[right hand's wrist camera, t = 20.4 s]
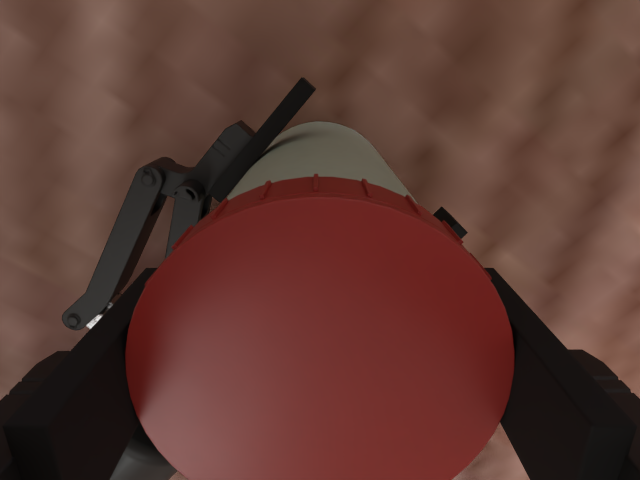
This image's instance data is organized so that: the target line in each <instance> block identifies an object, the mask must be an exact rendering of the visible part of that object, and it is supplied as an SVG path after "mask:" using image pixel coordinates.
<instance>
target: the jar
mask: <svg viewBox="0 0 640 480" xmlns="http://www.w3.org/2000/svg"><path fill="white" fill-rule="evenodd" d="M314 174H318V177H339V178H346V179H354V180H359V181H362V178H363V179H366V180H367V182H368V183H370V184H374V185H378V186H381V187H384V188H386V189H388V190H391V191H393V192H396V193H398V194H401V195H403V196H404V197H405V196H406V195H409V196H410V197H411V198H412V199H413V200H414V202H415V203H416V204H418V203H417V202H416V201H415V199H414V198H413V197H412V195H411V194H410V193H409V192H408V190H407V189H406V188H405V186H404V185H403V184H402V183H401V181H400V180H399V179H398V177H397V176H396V175H395V174H394V172H393V171H392V170H391V168H390V167H389V166H388V165H387V163H386V162H385V161H384V159H383V158H382V157H381V156H380V154H379V153H378V152H377V151H376V149H375V148H374V147H373V146H372V145H371V143H370V142H369V141H368V140H367V139H365V138H364V137H363V136H362V135H360V134H359V133H357V132H356V131H354V130H352V129H350V128H348V127H346V126H343V125H340V124H337V123H331V122H320V121H318V122H308V123H304V124H300V125H297V126H294V127H292V128H290V129H288V130H286V131H284V132H282V133H281V134H280V135H278V136H277V137H276V138H275V139H274V140H273V141H272V143H271V144H270V145H269V146H268V147H267V149H266V150H265V151H264V152H263V153H262V155H261V156H260V157H259V158H258V159H257V161H256V162H255V163H254V164H253V165H252V167H251V168H250V169H249V170H248V171H247V172H246V174H245V175H244V176H243V178H242V179H241V180H240V181H239V183H238V184H237V185H236V187H235V188H234V189H233V190H232V192H231V193H230V194H229V196H228V197H227V199H228V200H230V199H232V198H234V197H235V196H237V195H239V194H242V193H244V192H247V191H249V190H251V189H254V188H256V187H259V186H262V185H265V183H266V181H269V180H271V183H273V182H277V181H281V180H286V179H294V178H301V177H314ZM418 205H419V204H418Z"/></svg>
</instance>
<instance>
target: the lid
mask: <svg viewBox="0 0 640 480" xmlns="http://www.w3.org/2000/svg"><path fill="white" fill-rule="evenodd" d="M462 243H463V241H462V240H461V239H460V237H459V236H458V235H457V234H456V233H455V232H454V231H453V229H452V228H451V227H450V226H449V225H448V224H447V223H446V222H445V221H444V220H443V221H442V222H441V221H440V220H438V219H437V218H436V217H435V216H433V215H432V214H431V213H429V212H428V211H427V210H426V209H424V208H423V207H422V206H420V205H418V204H416V203H415V202H414V200H413V199H412V198H411V197H410V196H409V195H406V196H405V197H404V196H403V195H401V194H398V193H396V192H393V191H391V190H388V189H386V188H384V187H381V186H378V185H374V184H370V183H368V182H367V180H366V179H363V178H362V181H359V180H354V179H346V178H339V177H318V174H314V177H301V178H294V179H286V180H281V181H277V182H273V183H271V180H269V181H266V183H265V185H262V186H259V187H256V188H254V189H251V190H249V191H247V192H244V193H242V194H239V195H237V196H235V197H234V198H232V199H230V200H228V199H227V198H225V199H224V200H223V201H222V202H221V203H220V205H219V206H218V207H217V208H215V209H214V210H213V211H212V212H210V213H209V214H208V215H207V216H205V217H204V218H203V219H202V220H200V221H199V222H198V223H197V224H196V225H195V226H194V227H193V226H192V225H190V226H189V228H188V229H187V230H186V231H185V232H184V233H183V234H182V235H181V237H180V238H179V239H178V240H177V241H176V242H175V243H174V245H173V246H172V247H171V248H172V249H173V251H172V252H171V253H170V255H169V256H168V257H167V258H166V259H165V260H164V261H163V263H162V264H161V265H160V266H159V267H158V268H157V270H156V271H155V272H154V273H153V274H152V275H151V277H150V278H149V279H148V280H147V281H146V283H145V288H144V290H143V292H142V294H141V296H140V298H139V300H138V302H137V304H136V306H135V309H134V312H133V315H132V319H131V322H130V325H129V328H128V334H127V341H126V349H125V367H126V376H127V382H128V387H129V393H130V398H131V401H132V403H133V406H134V409H135V412H136V415H137V417H138V419H139V421H140V423H141V425H142V427H143V428H144V430H145V432H146V434H147V435H148V437H149V438H150V440H151V441H152V443H153V444H154V445H155V447H156V448H157V450H158V451H159V452H160V453H161V454H162V455H163V456H164V458H165V459H166V460H167V461H168V462H169V463H170V464H171V465H172V466H173V467H174V468H175V469H176V470H177V471H179V472H180V473H181V474H182V475H183V476H184V477H186V478H187V479H188V480H452V479H453V478H454V477H455V476H456V475H458V474H459V473H460V472H461V471H462V470H463V469H465V468H466V467H467V466H468V465H469V464H470V463H471V462H472V461H473V459H474V458H475V457H476V456H477V455H478V454H479V453H480V452H481V451H482V449H483V448H484V447H485V445H486V444H487V442H488V441H489V439H490V438H491V436H492V435H493V434H494V432H495V430H496V428H497V426H498V424H499V422H500V420H501V418H502V416H503V414H504V412H505V409H506V406H507V403H508V400H509V396H510V391H511V385H512V380H513V374H514V360H515V350H514V343H513V335H512V329H511V325H510V322H509V319H508V316H507V312H506V309H505V307H504V305H503V302H502V300H501V298H500V296H499V294H498V292H497V290H496V288H495V286H494V285H493V283H492V282H491V281H490V280H491V279H492V278H491V276H490V275H489V274H488V272H487V271H486V270H485V269H484V268H483V267H482V265H481V264H480V263H479V262H478V261H477V260H476V259H475V257H474V256H473V255H472V254H471V253H469V252H468V251H467V250H466V249H465V248H464V246H463V245H462Z"/></svg>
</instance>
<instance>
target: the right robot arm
mask: <svg viewBox="0 0 640 480" xmlns="http://www.w3.org/2000/svg"><path fill="white" fill-rule="evenodd" d="M484 269H485V270H486V271H487V272H488V274H489V275H490V276H491V278H492V279H491V280H490V281H491V282H492V283H493V285H494V286H495V288H496V290H497V292H498V294H499V296H500V298H501V300H502V302H503V305H504V307H505V309H506V312H507V316H508V319H509V322H510V325H511V329H512V335H513V343H514V350H515V360H514V374H513V380H512V385H511V391H510V396H509V400H508V403H507V406H506V409H505V412H504V414H503V416H502V418H501V420H500V423H501V425H502V427H503V429H504V430H505V432H506V434H507V436H508V438H509V440H510V442H511V444H512V446H513V448H514V450H515V451H516V453H517V455H518V457H519V459H520V461H521V463H522V465H523V467H524V469H525V471H526V473H527V474H528V476H529V478H530V480H640V399H639V398H638V397H637V396H636V395H635V394H634V393H631V391H630V389H629V388H628V387H627V386H626V385H625V384H624V383H623V382H622V381H621V380H618V377H617V376H616V375H615V374H614V373H613V372H612V371H611V370H610V369H609V368H608V367H607V366H606V365H605V364H604V363H603V362H602V361H600V360H598V359H597V358H595V357H594V356H592V355H590V354H589V353H587V352H585V351H584V350H568V349H567V348H566V347H565V346H564V345H563V344H562V343H561V342H560V341H559V340H558V338H557V337H556V336H555V335H554V334H553V333H552V332H551V331H550V330H549V329H548V327H547V326H546V325H545V324H544V323H543V322H542V321H541V320H540V319H539V318H538V316H537V315H536V314H535V313H534V312H533V311H532V310H531V309H530V308H529V307H528V306H527V304H526V303H525V302H524V301H523V300H522V299H521V298H520V297H519V296H518V295H517V293H516V292H515V291H514V290H513V289H512V288H511V287H510V286H509V285H508V284H507V282H506V281H505V280H504V279H503V278H502V277H501V276H500V275H499V274H498V273H497V272H496V270H495V269H494V268H484ZM156 270H157V268H146V269H145V270H144V271H143V272H142V273H141V274H140V276H139V277H138V278H137V279H136V280H135V281H134V282H133V283H132V284H131V285H130V287H129V288H128V289H127V290H126V291H125V292H124V293H123V294H122V295H121V296H120V298H119V299H118V300H117V301H116V302H115V303H114V304H113V305H112V306H111V307H110V308H109V310H108V311H107V312H106V313H105V314H104V315H103V316H102V317H101V318H100V319H99V321H98V322H97V323H96V324H95V325H94V326H93V327H92V328H91V329H90V330H89V332H88V333H87V334H86V335H85V336H84V337H83V338H82V339H81V340H80V341H79V342H78V344H77V345H76V346H75V347H74V348H73V349H72V350H71V351H57V352H56V353H54V354H52V355H51V356H49V357H47V358H46V359H44V360H42V361H41V362H39V363H37V364H36V365H35V366H34V367H33V368H32V369H31V370H30V371H29V372H28V373H27V374H26V375H25V376H24V377H23V378H22V382H18V383H17V384H16V385H15V386H14V387H13V388H12V389H11V390H10V393H9V395H6V396H5V397H4V398H3V399H2V400H1V401H0V480H110V478H111V476H112V474H113V472H114V470H115V468H116V466H117V464H118V462H119V461H120V459H121V457H122V455H123V453H124V451H125V449H126V447H127V445H128V443H129V441H130V439H131V438H132V436H133V434H134V432H135V430H136V428H137V426H138V424H139V422H140V421H139V419H138V417H137V415H136V412H135V409H134V406H133V403H132V401H131V398H130V393H129V387H128V382H127V376H126V367H125V349H126V341H127V334H128V328H129V325H130V322H131V319H132V315H133V312H134V309H135V306H136V304H137V302H138V300H139V298H140V296H141V294H142V292H143V290H144V288H145V283H146V281H147V280H148V279H149V278H150V277H151V275H152V274H153V273H154V272H155V271H156Z"/></svg>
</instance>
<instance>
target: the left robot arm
mask: <svg viewBox="0 0 640 480" xmlns="http://www.w3.org/2000/svg"><path fill="white" fill-rule="evenodd" d="M315 90H316V88H314V87H313V86H312V85H311V84H310V83H309V82H308V81H307V80H306V79H305V78H301V79H300V80H299V81H298V83H297V84H296V85H295V86H294V87H293V89H292V90H291V91H290V92H289V94H288V95H287V96H286V97H285V98H284V100H283V101H282V102H281V103H280V105H279V106H278V107H277V108H276V109H275V111H274V112H273V113H272V114H271V116H270V117H269V118H268V119H267V120H266V122H265V123H264V124H263V125H262V127H261V128H260V129H259V130H258V131H257V133H255V132H254V131H253V130H252V129H251V128H250V127H248V126H247V125H246V124H245V123H244V122H243V121H242V120H241V121H239V122H237V123H235V124H233V125H231V126H230V127H228V128H226V129H225V130H224V131H223V132H222V134H221V135H220V136H219V137H218V139H217V140H216V141H215V143H214V144H213V145H212V146H211V148H210V149H209V150H208V151H207V153H206V154H205V155H204V156H203V158H202V159H201V160H200V161H199V163H198V164H197V165H196V167H193V168H188V167H184V166H182V165H179V164H176V163H175V161H173V160H172V159H171V158H168V157H161V158H159V159H157V160H155V161H153V162H151V163H149V164H147V165H145V166H143V167H142V168H140V169H139V170H138V171H137V172H136V174H135V177H134V179H133V181H132V184H131V186H130V189H129V191H128V193H127V196H126V198H125V200H124V203H123V205H122V208H121V210H120V212H119V215H118V217H117V219H116V222H115V224H114V227H113V229H112V231H111V234H110V236H109V238H108V241H107V243H106V246H105V248H104V250H103V253H102V255H101V257H100V260H99V262H98V265H97V267H96V269H95V272H94V274H93V276H92V279H91V281H90V284H89V286H88V288H87V291H86V293H85V294H84V295H83V296H82V297H80V298H79V299H78V300H77V301H76V302H75V303H74V304H73V305H72V306H71V307H70V308H68V309H67V310H66V311H65V312H64V314H63V315H62V320H63V323H64V324H65V325H66V327H68V328H70V329H72V330H80V329H82V328H84V327H85V326H87V327H88V328H89V329H91V328H92V327H93V326H94V325H95V324H96V323H97V322H98V321H99V319H100V318H101V317H102V316H103V315H104V314H105V313H106V312H107V311H108V310H109V308H110V307H111V306H112V305H113V304H114V303H115V302H116V301H117V300H118V299H119V298H120V296H121V295H122V294H121V293H119V292H120V291H121V290H122V289H123V288H124V287H125V285H126V284H127V283H128V281H129V279H130V277H131V276H132V273H133V271H134V269H135V267H136V265H137V262H138V260H139V258H140V256H141V254H142V251H143V249H144V247H145V245H146V243H147V240H148V238H149V236H150V234H151V232H152V229H153V227H154V225H155V223H156V221H157V218H158V216H159V214H160V212H161V210H162V207H163V205H164V203H165V201H166V199H167V196H170V197H173V198H175V203H174V209H173V215H172V220H171V226H170V232H169V238H168V244H167V250H166V256H165V259H166V258H167V257H168V256H169V255H170V253H171V252H172V251H173V249H172V248H171V247H172V246H173V245H174V243H175V242H176V241H177V240H178V239H179V238H180V237H181V235H182V234H183V233H184V232H185V231H186V230H187V229H188V228H189V226H190V225H192V226H193V227H194V226H195V225H196V224H197V223H198V222H199V221H200V220H202V219H203V218H204V217H205V216H207V215H208V214H209V211H210V206H211V201H212V197H214V198H215V199H216V200H217V201H219V202H220V203H221V202H222V201H223V200H224V199H225V198H226V196H227V195H228V194H229V193H230V192H231V190H232V189H233V188H234V187H235V186H236V184H237V183H238V182H239V181H240V180H241V178H242V177H243V176H244V175H245V174H246V172H247V171H248V170H249V169H250V168H251V167H252V165H253V164H254V163H255V162H256V161H257V159H258V158H259V157H260V156H261V155H262V153H263V152H264V151H265V150H266V149H267V147H268V146H269V145H270V144H271V143H272V141H273V140H274V139H275V138H276V137H277V135H278V134H279V133H280V132H281V131H282V129H283V128H284V127H285V126H286V125H287V123H288V122H289V121H290V120H291V119H292V117H293V116H294V115H295V114H296V113H297V112H298V110H299V109H300V108H301V107H302V106H303V104H304V103H305V102H306V101H307V100H308V98H309V97H310V96H311V95H312V94H313V92H314V91H315ZM433 216H435V217H436V218H437V219H438V220H440V221H441V222H442V221H443V220H444V221H445V222H446V223H447V224H448V225H449V226H450V227H451V228H452V229H453V231H454V232H455V233H456V234H457V235H458V236H459V237H460V239H461V238H463V237H464V236H465V235H466V234H467V233H468V232H467V231H466V230H465V229H464V228H463V227H462V226H461V225H460V224H459V223H458V222H457V221H456V220H455V219H454V218H453V217H452V216H451V215H450V214H449V213H448V212H447V211H446V210H445V209H444V208H443V207H441V208H440V209H439V210H437V211H436V212H435V213H434V214H433ZM176 472H177V470H176V469H175V468H174V467H173V466H172V465H171V464H170V463H169V462H168V461H167V460H166V459H165V458H164V456H163V455H162V454H161V453H160V452H159V451H158V450H157V448H156V447H155V445H154V444H153V443H152V441H151V440H150V438H149V437H148V435H147V434H146V432H145V430H144V428H143V427H142V425H141V423H140V422H139V424H138V426H137V428H136V430H135V432H134V434H133V436H132V438H131V439H130V441H129V443H128V445H127V447H126V449H125V451H124V453H123V455H122V457H121V459H120V461H119V462H118V464H117V466H116V468H115V470H114V472H113V474H112V476H111V478H110V480H169V479H170V478H171V477H172V476H173V475H174V474H175V473H176Z"/></svg>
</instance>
